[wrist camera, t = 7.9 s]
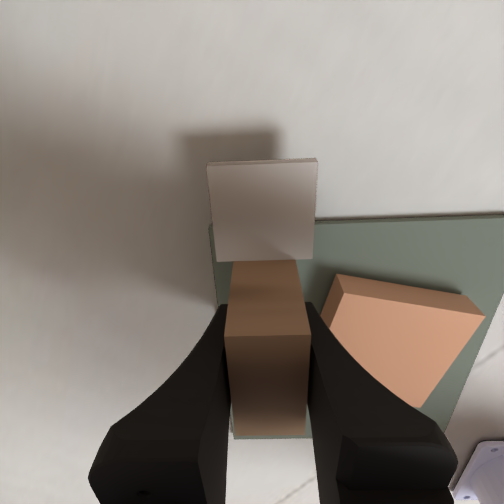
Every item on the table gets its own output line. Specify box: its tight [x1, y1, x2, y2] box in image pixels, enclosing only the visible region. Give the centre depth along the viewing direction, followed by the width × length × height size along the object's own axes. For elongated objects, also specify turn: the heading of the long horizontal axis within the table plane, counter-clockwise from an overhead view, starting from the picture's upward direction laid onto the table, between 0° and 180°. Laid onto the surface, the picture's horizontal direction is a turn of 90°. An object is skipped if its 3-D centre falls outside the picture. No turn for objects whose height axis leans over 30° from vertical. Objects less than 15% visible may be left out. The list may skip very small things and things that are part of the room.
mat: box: [209, 215, 504, 439], centre depth 19 cm, size 15×17×1 cm
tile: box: [320, 274, 486, 408], centre depth 17 cm, size 7×2×7 cm
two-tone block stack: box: [206, 158, 318, 436], centre depth 12 cm, size 9×4×5 cm, turn 2°
